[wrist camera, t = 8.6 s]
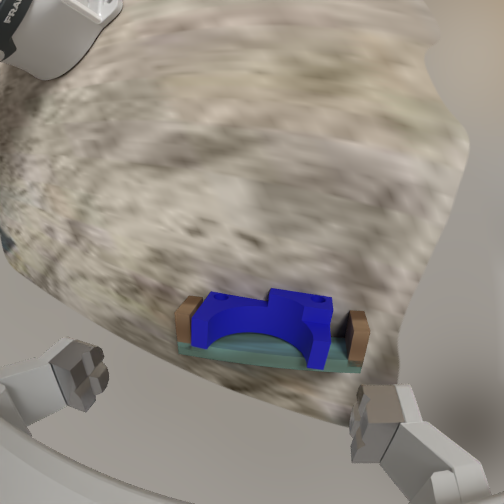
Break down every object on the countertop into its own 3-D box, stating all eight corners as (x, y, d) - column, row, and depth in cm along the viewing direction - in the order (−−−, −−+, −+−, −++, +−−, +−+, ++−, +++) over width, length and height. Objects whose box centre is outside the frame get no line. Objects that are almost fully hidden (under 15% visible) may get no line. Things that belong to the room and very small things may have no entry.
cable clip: (331, 296, 30) (335, 327, 24) (322, 335, 32) (323, 370, 26) (212, 277, 32) (191, 302, 26) (210, 315, 33) (191, 346, 28)
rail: (189, 295, 33) (174, 312, 29) (364, 311, 30) (370, 331, 26) (191, 334, 34) (178, 353, 30) (356, 350, 31) (360, 373, 27)
